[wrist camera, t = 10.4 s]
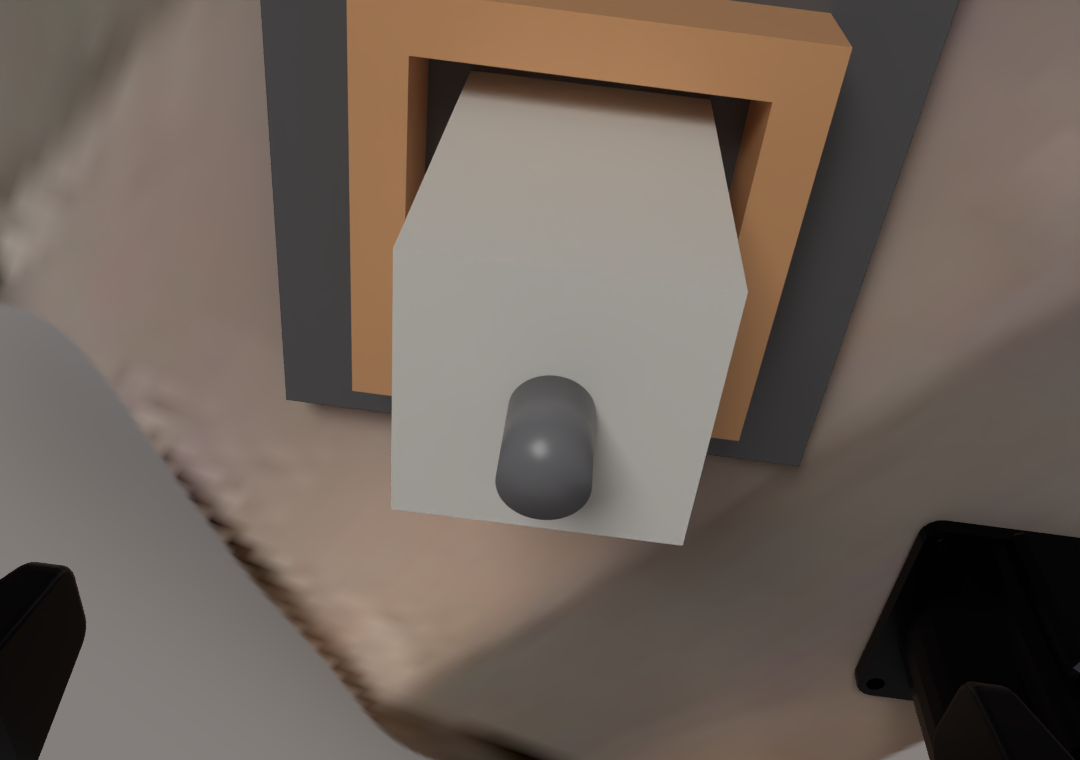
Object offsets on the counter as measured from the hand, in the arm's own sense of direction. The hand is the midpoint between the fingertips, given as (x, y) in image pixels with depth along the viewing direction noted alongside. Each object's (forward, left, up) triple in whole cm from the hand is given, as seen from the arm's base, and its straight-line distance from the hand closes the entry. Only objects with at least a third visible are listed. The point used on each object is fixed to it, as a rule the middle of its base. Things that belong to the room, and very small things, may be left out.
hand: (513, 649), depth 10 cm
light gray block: (0, 0, -11) cm, 11 cm away
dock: (0, 0, -12) cm, 12 cm away
